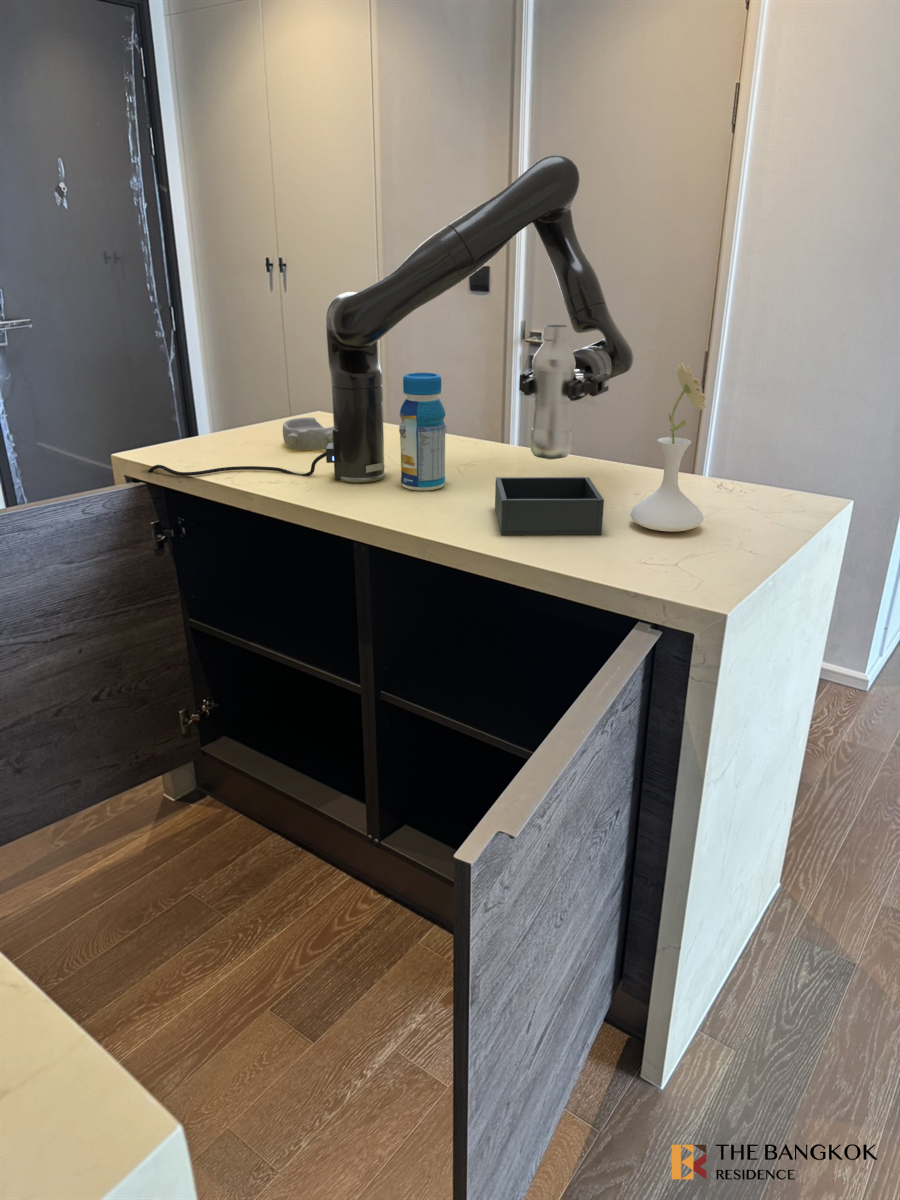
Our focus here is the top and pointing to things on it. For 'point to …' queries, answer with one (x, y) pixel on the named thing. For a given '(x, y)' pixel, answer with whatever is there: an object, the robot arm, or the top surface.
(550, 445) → the plastic bottle
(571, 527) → the black open rectangular box
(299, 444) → the dish
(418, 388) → the beverage bottle
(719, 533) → the top surface
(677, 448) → the flower in vase
